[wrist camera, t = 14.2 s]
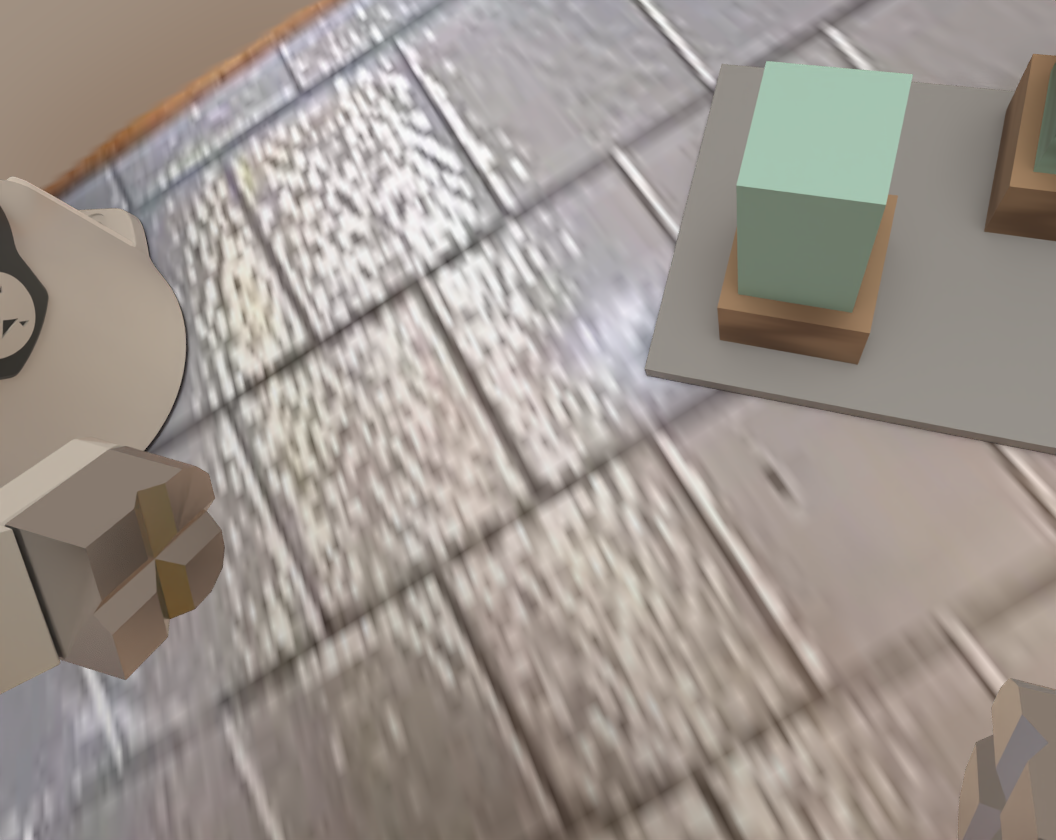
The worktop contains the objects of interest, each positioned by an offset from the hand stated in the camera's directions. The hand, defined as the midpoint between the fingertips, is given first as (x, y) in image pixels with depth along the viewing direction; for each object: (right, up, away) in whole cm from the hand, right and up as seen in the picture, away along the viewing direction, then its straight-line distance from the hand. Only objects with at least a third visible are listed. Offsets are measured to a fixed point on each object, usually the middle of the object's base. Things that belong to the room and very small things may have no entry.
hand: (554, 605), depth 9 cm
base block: (+12, +8, +31) cm, 34 cm away
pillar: (+11, +9, +28) cm, 31 cm away
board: (+17, +9, +32) cm, 37 cm away
